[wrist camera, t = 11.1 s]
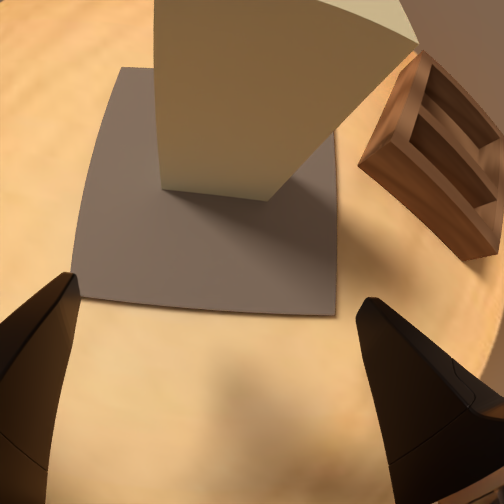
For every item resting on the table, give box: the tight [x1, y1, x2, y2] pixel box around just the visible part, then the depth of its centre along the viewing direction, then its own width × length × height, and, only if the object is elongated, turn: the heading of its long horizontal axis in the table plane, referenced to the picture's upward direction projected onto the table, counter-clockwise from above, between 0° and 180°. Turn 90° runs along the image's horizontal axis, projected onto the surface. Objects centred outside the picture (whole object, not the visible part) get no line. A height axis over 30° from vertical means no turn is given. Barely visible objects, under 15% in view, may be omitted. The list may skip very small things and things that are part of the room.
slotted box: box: [358, 50, 504, 261], centre depth 21 cm, size 14×12×4 cm
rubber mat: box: [70, 67, 337, 315], centre depth 17 cm, size 15×15×1 cm
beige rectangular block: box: [154, 0, 419, 202], centre depth 11 cm, size 2×6×13 cm, turn 87°
